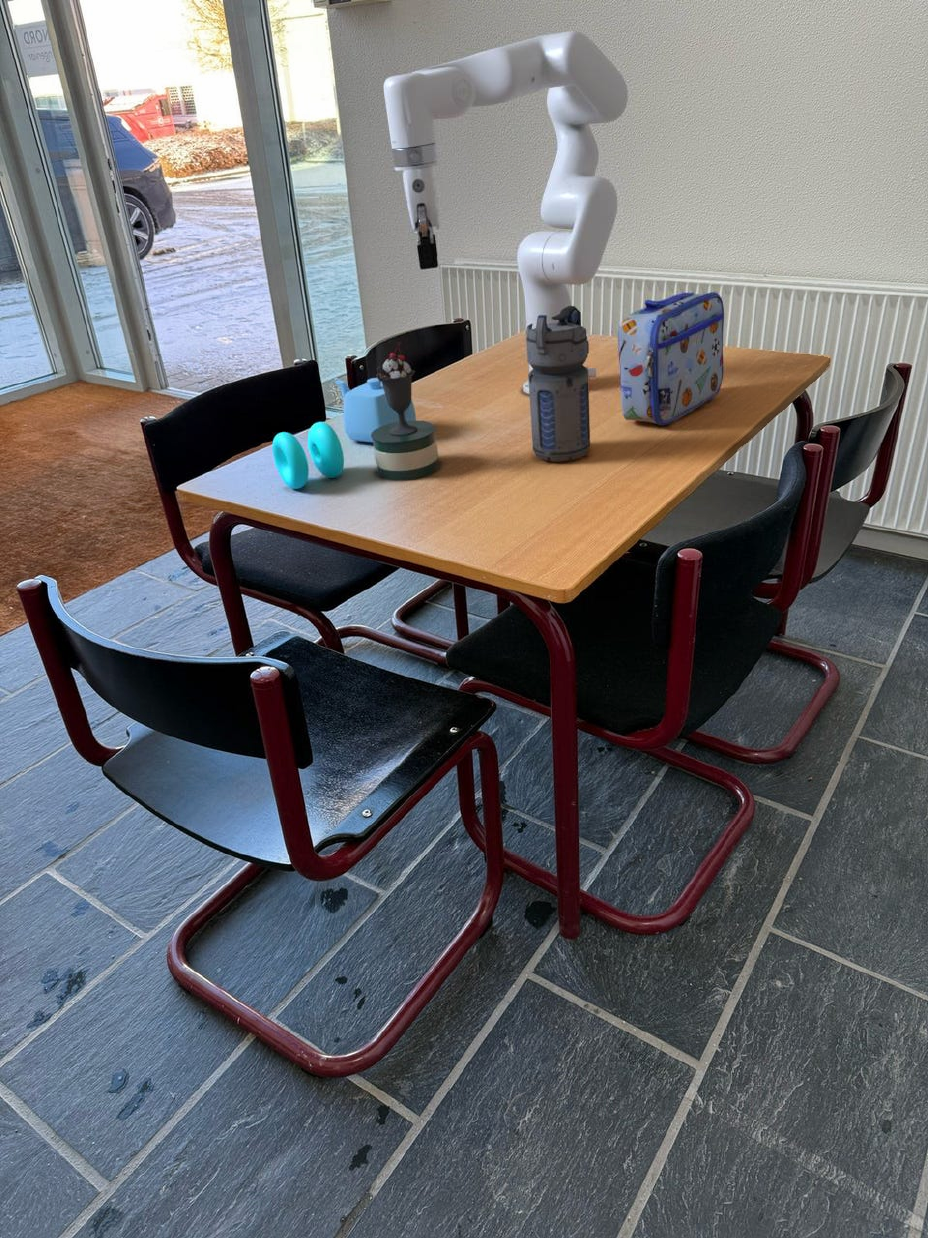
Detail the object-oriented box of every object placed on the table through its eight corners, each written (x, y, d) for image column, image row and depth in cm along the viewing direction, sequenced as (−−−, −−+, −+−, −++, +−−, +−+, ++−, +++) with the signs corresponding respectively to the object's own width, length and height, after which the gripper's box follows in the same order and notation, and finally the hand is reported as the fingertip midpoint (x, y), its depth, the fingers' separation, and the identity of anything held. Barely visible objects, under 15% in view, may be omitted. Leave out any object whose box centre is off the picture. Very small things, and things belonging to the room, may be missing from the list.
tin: (440, 454, 168) (435, 417, 164) (439, 476, 158) (435, 438, 154) (378, 460, 168) (373, 423, 164) (374, 483, 158) (368, 445, 155)
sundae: (424, 423, 162) (414, 337, 154) (419, 435, 156) (407, 347, 149) (388, 425, 163) (376, 340, 155) (381, 438, 157) (368, 350, 149)
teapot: (361, 422, 189) (352, 367, 184) (431, 430, 180) (424, 372, 174) (322, 441, 181) (312, 384, 175) (394, 451, 171) (386, 391, 166)
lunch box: (659, 437, 164) (660, 312, 153) (610, 430, 170) (608, 308, 159) (729, 394, 181) (734, 279, 170) (681, 389, 187) (684, 277, 176)
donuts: (350, 481, 160) (341, 426, 155) (299, 497, 156) (287, 442, 151) (326, 467, 168) (317, 414, 163) (276, 482, 163) (265, 428, 158)
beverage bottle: (606, 443, 164) (603, 300, 151) (572, 469, 155) (566, 318, 142) (556, 437, 169) (549, 298, 157) (520, 462, 160) (510, 316, 147)
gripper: (437, 158, 147) (450, 269, 156) (436, 151, 162) (448, 252, 171) (391, 165, 147) (407, 275, 156) (395, 156, 162) (409, 257, 171)
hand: (429, 263), depth 164 cm, fingers open, 9 cm apart
